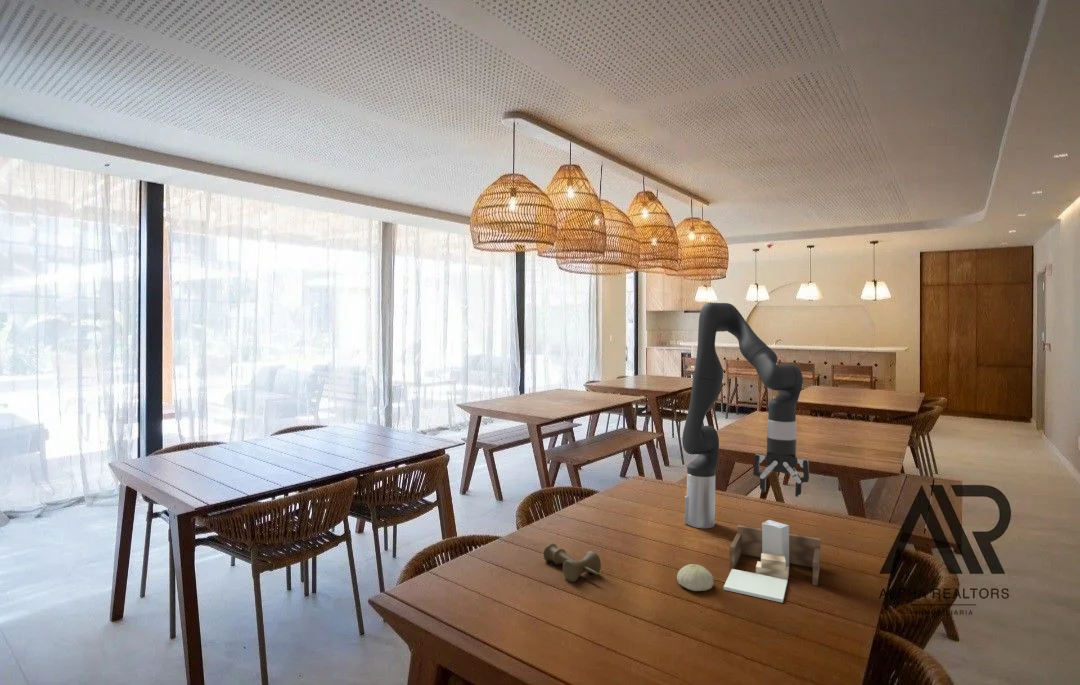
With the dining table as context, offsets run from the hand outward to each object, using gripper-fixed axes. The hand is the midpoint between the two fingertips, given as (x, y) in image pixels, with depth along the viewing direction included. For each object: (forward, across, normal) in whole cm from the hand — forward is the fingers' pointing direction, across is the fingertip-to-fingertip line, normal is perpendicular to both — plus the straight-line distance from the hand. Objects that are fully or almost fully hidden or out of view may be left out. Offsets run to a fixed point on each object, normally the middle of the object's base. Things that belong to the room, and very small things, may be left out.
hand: (780, 493), depth 159 cm
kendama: (+21, -49, -32) cm, 62 cm away
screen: (+20, -1, -2) cm, 21 cm away
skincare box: (+21, -1, -1) cm, 21 cm away
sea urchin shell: (+21, -18, -24) cm, 36 cm away
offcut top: (+18, -1, -7) cm, 20 cm away
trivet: (+20, -4, -16) cm, 27 cm away
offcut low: (+21, -1, -7) cm, 22 cm away
